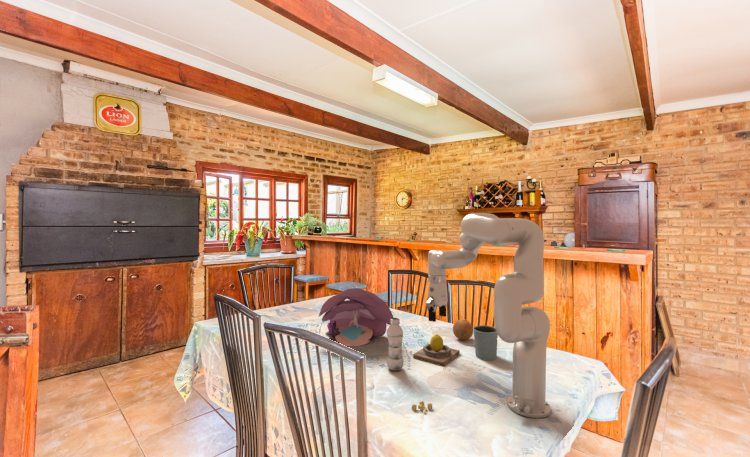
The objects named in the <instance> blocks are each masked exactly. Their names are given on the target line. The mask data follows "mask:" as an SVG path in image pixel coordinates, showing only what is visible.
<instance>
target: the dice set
mask: <svg viewBox="0 0 750 457" xmlns="http://www.w3.org/2000/svg"><path fill="white" fill-rule="evenodd" d="M423 406H424V407H425V401H423V400H420V401H419V404H418V405H417V404H416V403H412V404H411V410H412V409H413V410H415V411H417V410H418V409H420V410H419V411H422V410H423V411H422V413H423V412H424V413H427V414H428V411H429V409H432V410H433V404H432V403H430V402H429V403H427V408H424V407H423ZM417 408H418V409H417ZM416 409H417V410H416ZM413 410H412V411H413ZM424 410H425V411H424ZM426 410H428V411H426ZM424 413H423V414H424Z"/></svg>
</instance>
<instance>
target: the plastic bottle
mask: <svg viewBox="0 0 750 457" xmlns="http://www.w3.org/2000/svg"><path fill="white" fill-rule="evenodd" d="M390 324H391V325H389V326H388V328H387V329H386V337H387V345H388V347H387V349H388V350H387V358H386V366H387V369H389V370H390V371H395V372H398V371H401V370H402V369H403V365H404V359H403V350H402V346H403V344H402V343H403V339H404V338H403V337H404V330H403V329H402V326H400V325H401V324H400V318H399V317H394V318H391V319H390Z"/></svg>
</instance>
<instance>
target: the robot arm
mask: <svg viewBox="0 0 750 457" xmlns="http://www.w3.org/2000/svg"><path fill="white" fill-rule="evenodd" d="M460 230H461V233H460V235H459V236H458V241H459V243H460V245H461V248H460V249H452V250H444V249H431V250H429V251H428V253H427V257H428V258H427V260H428V261H427V265H428V266H427V271H428V272H427V273H428V274H427V276H428V279H427V280H428V292H427V301H426V308H427V311H428V321H429V322H437V312H436V310H437V308H438V315H439V317H447V304H448V302H449V301H448V300H449V298H448V297H449V295H448V286H447V270H451V269H453V270H454V269H463V268H465V267H467V266H468V265H469V264H471V263H472V262H474V261H475V259H477V256H478V254H479V249H481V247H483V246H484V245H485V244H488V245H492V246H508V245H517V246H518V247H517V249H516V251H515V253H514V257H513V273H509V274H508V273H507V274H504V275H502V276H500V277H499V278H498V279H497V281H496V282H495V285H494V288H493V316H494V318H493V319H494V320H493V321H494V327H495V329H496V332H497V334H498V337H499V338H500V340H502V341H503V342H504V343H506V344H507V343H508V344H513V347H512V392H511V393H512V394H511V395H509V396H507V399H506V404H507V406H508V407H509V409H510V410H511V411H512V412H514V413H516V414H518V415H521V416H523V417H527V418H532V419H533V418H534V419H542V418H545V417H548V416H550V415H551V414H552V410H551V409H552V406H551V405H550V404H549V403H548V402H547V401H546V389H547V388H546V386H547V385H546V384H547V383H546V381H547V378H546V376H547V346H548V339H549V336H550V331H551V323H550V322H551V321H550V318H549V316H548V314H547V313H546V311H545V310H543V309H542V308H539V307H537V306H530V305H529V306H523V305H528V304H533V303H537V302H540V301H541V300H542V299H543V297H544V294H545V275H544V274H545V271H544V266H545V265H544V251H545V237H544V233H543V230H542V228H541V227H540V226H539V225H538V224H537V223H536V222H534V221H532V220H530V219H526V218H519V217H518V218H517V217H516V218H515V217H512V218H511V217H509V218H505V217H504V218H501V217H498V216H497V215H495V214H493V213H488V212H473V213H471V212H470V213H468V214H466V215H465V216H464V217H463V219H461V222H460ZM522 306H523V307H522Z"/></svg>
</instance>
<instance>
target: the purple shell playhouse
mask: <svg viewBox="0 0 750 457" xmlns="http://www.w3.org/2000/svg"><path fill="white" fill-rule="evenodd" d="M321 316H322V318H321V322H327V321H329V322H328V323H327V324H326V325H327V326H326V327H327V330H328V331H327V332H325V336H326V337H328V338H330V339H331V340H332V339H334V338H335V340H336V342H337V343H338V342H339V343H341V344H343V345H342V346H344V345H345V346H344V347H359V346H364V345H367V344H368V343H370V342H371V340H370V339H371V338H372V337H382V336H384V335H385V334H386V333H387V327H388V326H387V325H389V326H390V325H391V324H390V319H391V318H395V317H394V315H393V313H392V311H391V309H390V307H389V306H388V304H387V303H386V302H385V301H384V300H383V298H380V297H379V296H378V295H377V294H375V293H373V292H371V291H369V290H365V289H363V288H358V287H353V288H352V287H351V288H347V289H345V290H343V291H341V292H340V293H337V294H335V295H332V296H331V297H329V298H328V299H327V300H326V301H325V302H324V303H323V305H322V306H321V308H320V311H319V314H318V318H319V317H321ZM339 343H338V344H339ZM341 344H340V345H341Z"/></svg>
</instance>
